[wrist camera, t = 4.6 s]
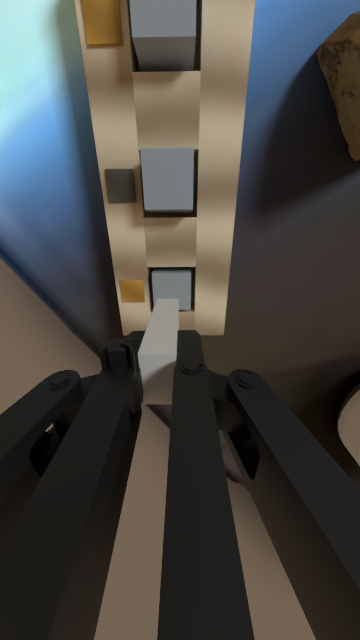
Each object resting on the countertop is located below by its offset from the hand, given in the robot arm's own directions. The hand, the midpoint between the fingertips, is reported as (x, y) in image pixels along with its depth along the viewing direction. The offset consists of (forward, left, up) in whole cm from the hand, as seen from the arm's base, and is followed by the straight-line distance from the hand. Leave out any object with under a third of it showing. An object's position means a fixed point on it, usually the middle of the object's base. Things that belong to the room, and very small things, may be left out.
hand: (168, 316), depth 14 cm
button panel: (-9, 0, -12) cm, 15 cm away
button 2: (0, 0, -11) cm, 11 cm away
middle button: (-9, 0, -9) cm, 13 cm away
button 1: (-19, 0, -9) cm, 21 cm away
